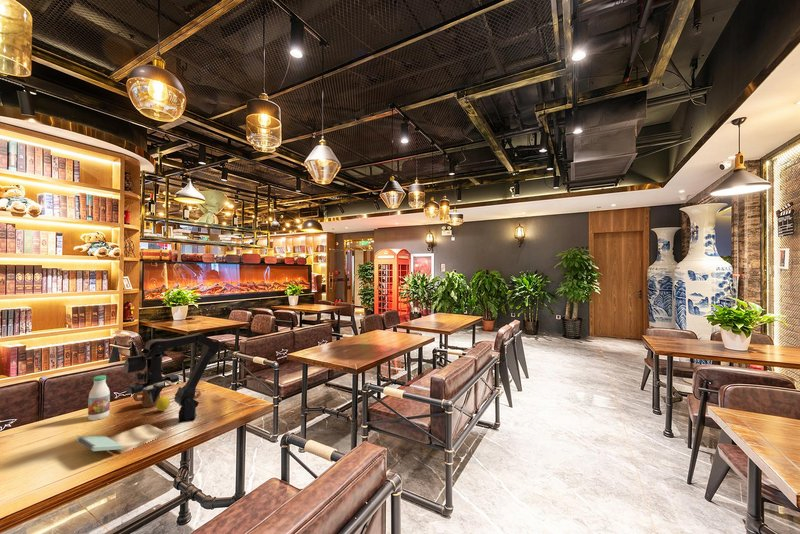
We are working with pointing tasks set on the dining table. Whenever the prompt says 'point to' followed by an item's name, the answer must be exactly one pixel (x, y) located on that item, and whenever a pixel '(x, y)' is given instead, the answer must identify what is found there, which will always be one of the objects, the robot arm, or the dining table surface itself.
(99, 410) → the milk bottle
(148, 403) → the mug
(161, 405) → the lemon
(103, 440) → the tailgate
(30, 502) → the dining table surface
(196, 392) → the pretzel
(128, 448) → the beige flat square pad
